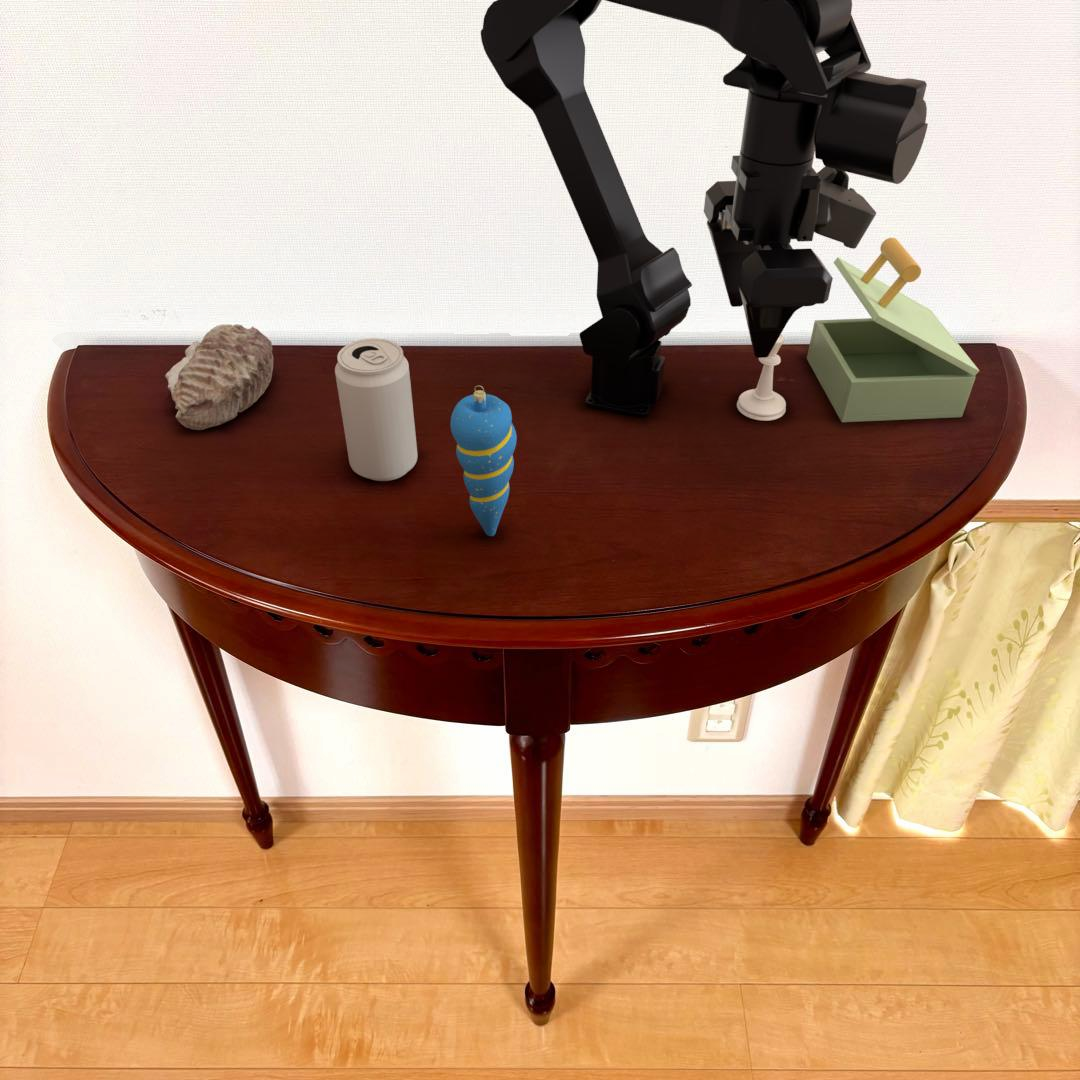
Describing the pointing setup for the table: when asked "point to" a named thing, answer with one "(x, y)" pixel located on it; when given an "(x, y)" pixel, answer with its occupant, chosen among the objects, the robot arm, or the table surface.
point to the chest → (883, 374)
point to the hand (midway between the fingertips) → (748, 330)
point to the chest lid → (903, 305)
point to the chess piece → (764, 392)
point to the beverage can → (377, 408)
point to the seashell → (220, 376)
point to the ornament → (485, 454)
